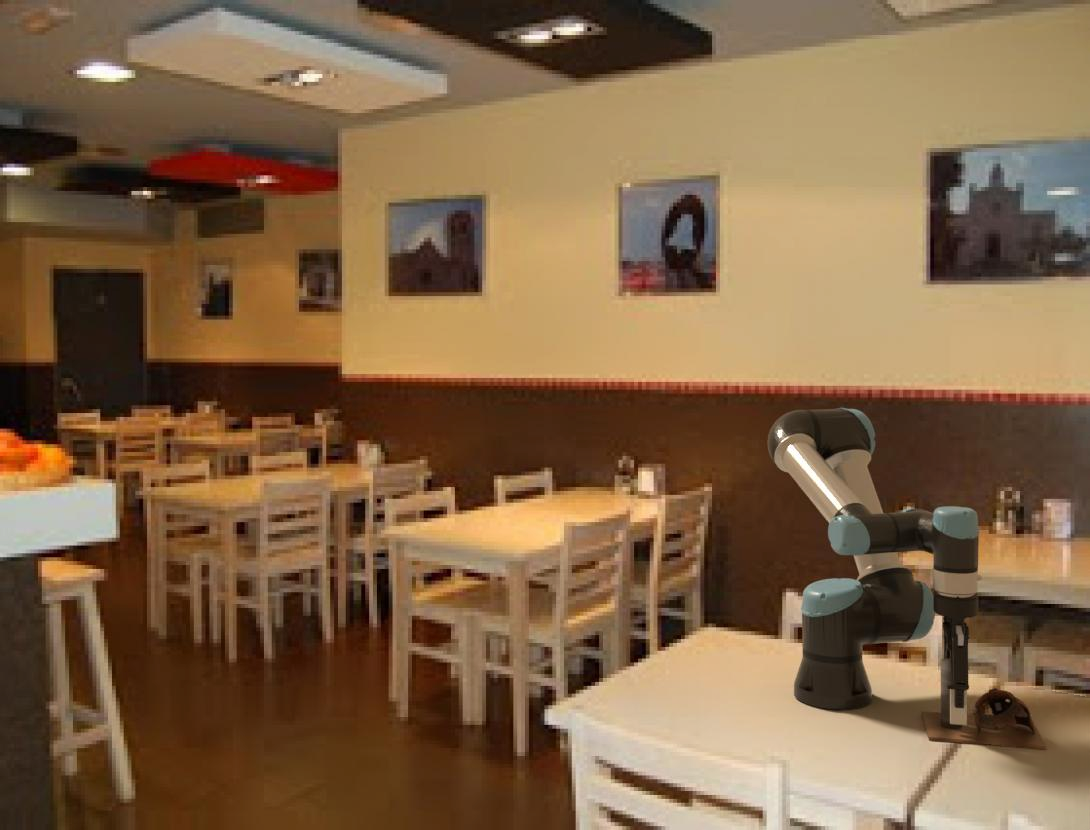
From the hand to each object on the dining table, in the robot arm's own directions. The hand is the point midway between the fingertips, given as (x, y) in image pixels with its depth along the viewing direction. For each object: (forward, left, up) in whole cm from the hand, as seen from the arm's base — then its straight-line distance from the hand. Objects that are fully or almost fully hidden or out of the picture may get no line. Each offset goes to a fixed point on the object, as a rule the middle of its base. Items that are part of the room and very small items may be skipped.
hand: (955, 716), depth 177 cm
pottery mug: (+8, 0, -2) cm, 8 cm away
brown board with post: (+4, 0, -2) cm, 5 cm away
